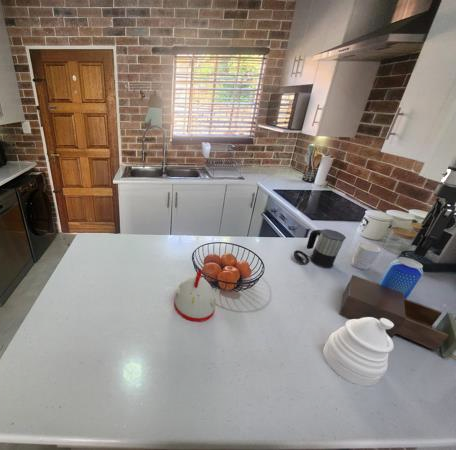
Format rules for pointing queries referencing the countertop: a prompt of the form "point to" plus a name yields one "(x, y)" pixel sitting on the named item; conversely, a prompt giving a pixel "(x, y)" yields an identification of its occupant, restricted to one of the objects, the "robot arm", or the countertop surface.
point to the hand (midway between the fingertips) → (417, 250)
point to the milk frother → (322, 248)
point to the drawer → (429, 328)
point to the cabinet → (373, 303)
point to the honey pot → (360, 350)
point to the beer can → (402, 275)
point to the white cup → (365, 255)
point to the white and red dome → (195, 299)
